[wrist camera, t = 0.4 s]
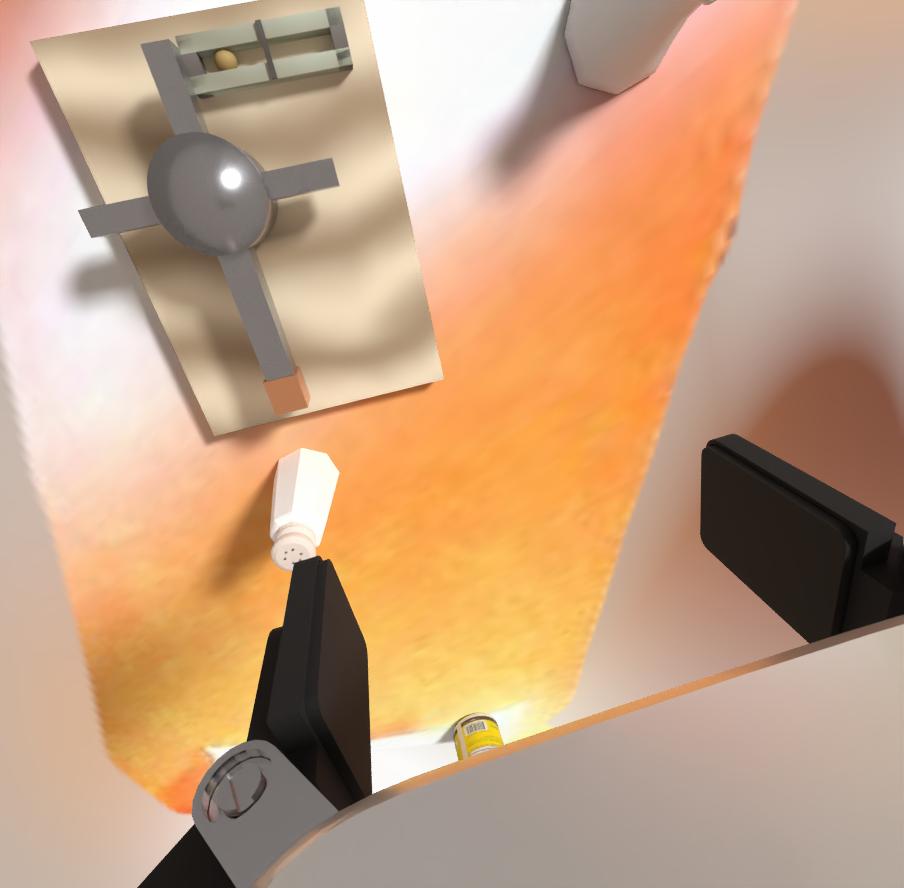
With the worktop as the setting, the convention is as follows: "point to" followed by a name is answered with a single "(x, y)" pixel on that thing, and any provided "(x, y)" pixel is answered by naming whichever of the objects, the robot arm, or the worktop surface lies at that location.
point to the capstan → (218, 214)
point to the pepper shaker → (300, 505)
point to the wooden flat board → (298, 218)
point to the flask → (622, 38)
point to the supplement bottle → (476, 735)
